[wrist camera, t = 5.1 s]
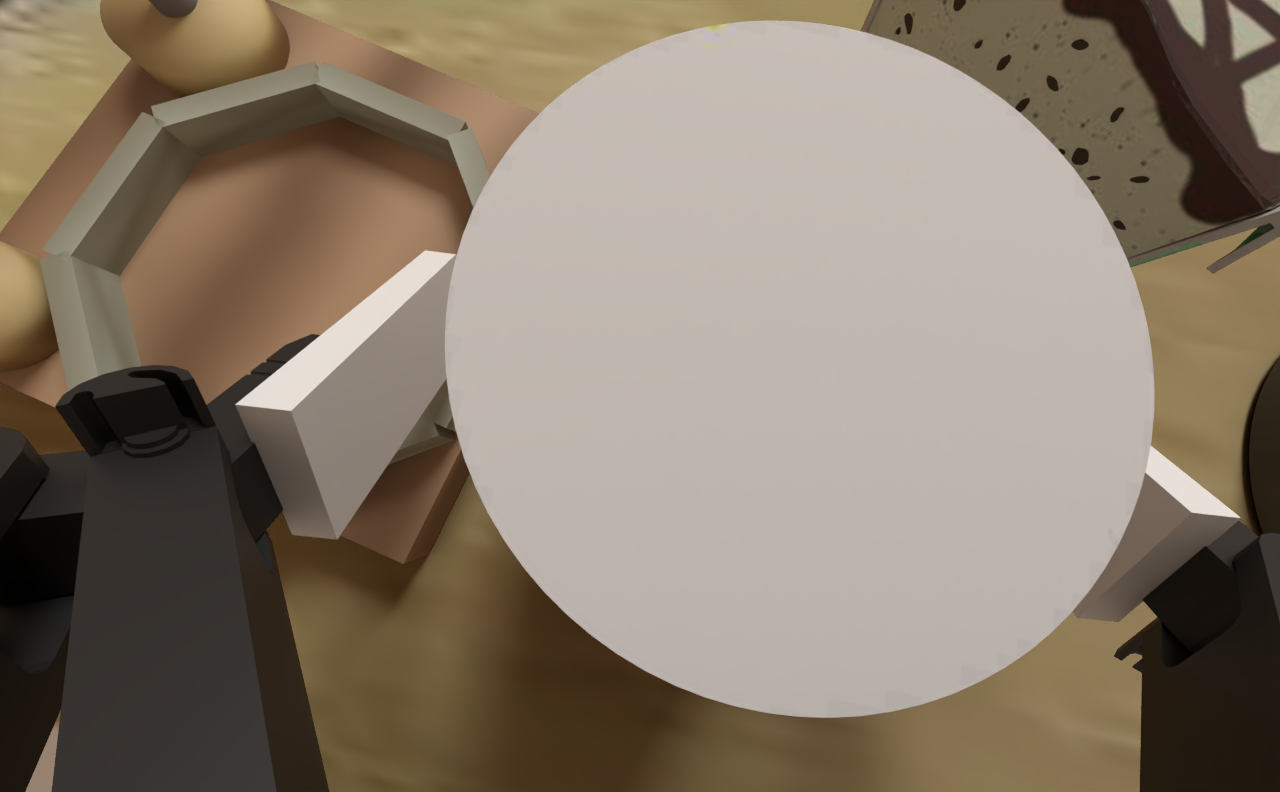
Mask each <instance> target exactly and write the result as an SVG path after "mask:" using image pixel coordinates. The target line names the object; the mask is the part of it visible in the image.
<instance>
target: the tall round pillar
mask: <svg viewBox="0 0 1280 792" xmlns="http://www.w3.org/2000/svg"><path fill="white" fill-rule="evenodd" d="M445 363H446V377H447V385H448V393H449V401H450V406H451V410H452V415H453V420H454V425H455V429H456V433H457V436H458V439H459V443H460V446H461V449H462V453H463V456H464V459H465V462H466V464H467V467H468V469H469V472H470V475H471V477H472V480H473V482H474V485H475V487H476V489H477V491H478V493H479V495H480V497H481V499H482V502H483V504H484V506H485V508H486V510H487V512H488V514H489V516H490V517H491V519H492V521H493V522H494V524H495V526H496V527H497V529H498V531H499V532H500V534H501V536H502V537H503V539H504V541H505V542H506V544H507V545H508V546H509V548H510V549H511V551H512V552H513V554H514V555H515V556H516V558H517V559H518V561H519V562H520V563H521V565H522V566H523V567H524V569H525V570H526V571H527V572H528V573H529V575H530V576H531V577H532V578H533V579H534V581H535V582H536V583H537V584H538V585H539V586H540V588H541V589H542V590H543V591H544V592H545V593H546V594H547V595H548V596H549V597H550V598H551V599H552V600H553V601H554V602H555V603H556V604H557V605H558V606H559V607H560V608H561V609H562V610H563V611H564V612H565V613H566V614H567V615H568V616H569V617H570V618H571V619H573V620H574V621H575V622H576V623H577V624H578V625H580V626H581V627H582V628H583V629H584V630H585V631H587V632H588V633H589V634H590V635H591V636H593V637H594V638H596V639H597V640H598V641H600V642H601V643H602V644H604V645H605V646H607V647H608V648H609V649H611V650H612V651H614V652H615V653H616V654H618V655H619V656H621V657H623V658H624V659H626V660H628V661H629V662H631V663H633V664H634V665H636V666H638V667H639V668H641V669H643V670H644V671H646V672H648V673H650V674H652V675H654V676H656V677H658V678H660V679H662V680H665V681H667V682H669V683H671V684H673V685H675V686H677V687H680V688H682V689H685V690H687V691H690V692H693V693H695V694H698V695H700V696H703V697H705V698H709V699H712V700H716V701H719V702H722V703H726V704H729V705H732V706H736V707H740V708H745V709H750V710H755V711H760V712H765V713H771V714H780V715H788V716H796V717H821V718H836V717H853V716H865V715H872V714H879V713H886V712H893V711H897V710H901V709H905V708H909V707H913V706H918V705H922V704H925V703H928V702H931V701H934V700H937V699H940V698H943V697H946V696H949V695H951V694H954V693H956V692H958V691H960V690H963V689H965V688H967V687H969V686H972V685H974V684H976V683H978V682H980V681H982V680H984V679H986V678H987V677H989V676H991V675H993V674H995V673H996V672H998V671H1000V670H1002V669H1004V668H1005V667H1007V666H1008V665H1010V664H1011V663H1013V662H1014V661H1015V660H1017V659H1018V658H1020V657H1021V656H1023V655H1024V654H1026V653H1027V652H1029V651H1030V650H1031V649H1032V648H1033V647H1035V646H1036V645H1037V644H1038V643H1039V642H1041V641H1042V640H1043V639H1044V638H1045V637H1047V636H1048V635H1049V634H1050V633H1051V632H1052V631H1053V630H1054V629H1055V628H1056V627H1057V626H1058V625H1059V624H1060V623H1061V622H1062V621H1063V620H1064V619H1065V618H1066V617H1067V616H1068V615H1069V614H1070V613H1071V612H1072V611H1073V610H1074V609H1075V608H1076V606H1077V605H1078V604H1079V603H1080V602H1081V600H1082V599H1083V598H1084V597H1085V596H1086V594H1087V593H1088V592H1089V591H1090V589H1091V588H1092V587H1093V585H1094V584H1095V582H1096V581H1097V579H1098V578H1099V576H1100V575H1101V574H1102V572H1103V571H1104V569H1105V568H1106V566H1107V564H1108V562H1109V561H1110V559H1111V557H1112V555H1113V554H1114V552H1115V550H1116V548H1117V547H1118V545H1119V543H1120V541H1121V539H1122V536H1123V534H1124V532H1125V530H1126V528H1127V526H1128V523H1129V521H1130V519H1131V516H1132V513H1133V511H1134V508H1135V505H1136V502H1137V499H1138V497H1139V494H1140V490H1141V487H1142V483H1143V479H1144V475H1145V471H1146V468H1147V463H1148V457H1149V451H1150V446H1151V440H1152V429H1153V419H1154V373H1153V359H1152V352H1151V344H1150V337H1149V331H1148V327H1147V322H1146V318H1145V313H1144V309H1143V305H1142V302H1141V298H1140V295H1139V292H1138V288H1137V285H1136V282H1135V279H1134V276H1133V274H1132V271H1131V268H1130V266H1129V263H1128V260H1127V258H1126V256H1125V253H1124V251H1123V249H1122V247H1121V245H1120V243H1119V240H1118V238H1117V236H1116V234H1115V232H1114V230H1113V228H1112V227H1111V225H1110V223H1109V221H1108V219H1107V217H1106V216H1105V214H1104V212H1103V210H1102V209H1101V207H1100V206H1099V204H1098V202H1097V201H1096V199H1095V198H1094V196H1093V195H1092V193H1091V191H1090V190H1089V188H1088V187H1087V186H1086V184H1085V183H1084V182H1083V180H1082V179H1081V178H1080V176H1079V175H1078V174H1077V172H1076V171H1075V169H1074V168H1073V167H1072V166H1071V165H1070V163H1069V162H1068V161H1067V160H1066V159H1065V158H1064V156H1063V155H1062V154H1061V153H1060V152H1059V150H1058V149H1057V148H1056V147H1055V146H1054V145H1053V144H1052V143H1051V142H1050V141H1049V140H1048V139H1047V138H1046V137H1045V136H1044V135H1043V134H1042V133H1041V132H1040V131H1039V130H1038V129H1037V128H1036V127H1035V126H1034V125H1033V124H1032V123H1031V122H1030V121H1028V120H1027V119H1026V118H1025V117H1024V116H1023V115H1022V114H1021V113H1020V112H1018V111H1017V110H1016V109H1015V108H1013V107H1012V106H1011V105H1010V104H1008V103H1007V102H1006V101H1005V100H1003V99H1002V98H1001V97H999V96H998V95H996V94H995V93H994V92H992V91H991V90H989V89H988V88H986V87H985V86H984V85H982V84H981V83H979V82H978V81H976V80H974V79H973V78H971V77H969V76H968V75H966V74H964V73H963V72H961V71H959V70H958V69H956V68H954V67H952V66H950V65H948V64H946V63H944V62H942V61H940V60H938V59H937V58H934V57H932V56H930V55H928V54H925V53H923V52H921V51H919V50H916V49H914V48H911V47H909V46H906V45H903V44H901V43H898V42H895V41H892V40H890V39H886V38H883V37H879V36H876V35H873V34H869V33H866V32H861V31H857V30H852V29H848V28H844V27H838V26H832V25H825V24H819V23H808V22H797V21H750V22H738V23H729V24H721V25H715V26H710V27H705V28H699V29H695V30H691V31H687V32H683V33H679V34H676V35H672V36H669V37H666V38H663V39H660V40H657V41H654V42H652V43H649V44H646V45H644V46H642V47H639V48H637V49H635V50H632V51H630V52H628V53H626V54H624V55H622V56H620V57H618V58H616V59H614V60H612V61H610V62H608V63H606V64H605V65H603V66H601V67H600V68H598V69H597V70H595V71H593V72H592V73H590V74H588V75H587V76H585V77H584V78H582V79H581V80H580V81H578V82H577V83H576V84H574V85H573V86H571V87H570V88H569V89H567V90H566V91H565V92H563V93H562V94H561V95H560V96H559V97H558V98H556V99H555V100H554V101H553V102H552V103H551V104H549V105H548V106H547V107H546V108H545V109H544V110H543V111H542V112H541V113H540V114H539V115H538V116H537V117H536V118H535V119H534V120H533V121H532V122H531V123H530V124H529V125H528V126H527V127H526V129H525V130H524V131H523V132H522V133H521V134H520V136H519V137H518V138H517V139H516V140H515V142H514V143H513V144H512V145H511V147H510V148H509V149H508V151H507V152H506V154H505V155H504V156H503V158H502V159H501V161H500V162H499V163H498V165H497V166H496V168H495V170H494V171H493V173H492V175H491V176H490V178H489V180H488V181H487V183H486V185H485V186H484V188H483V190H482V192H481V194H480V196H479V198H478V200H477V202H476V204H475V206H474V208H473V210H472V213H471V215H470V218H469V220H468V223H467V226H466V228H465V231H464V233H463V236H462V239H461V243H460V246H459V249H458V253H457V256H456V259H455V263H454V268H453V273H452V277H451V282H450V287H449V294H448V302H447V310H446V323H445Z"/></svg>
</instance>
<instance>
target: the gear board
mask: <svg viewBox="0 0 1280 792" xmlns="http://www.w3.org/2000/svg"><path fill="white" fill-rule="evenodd" d="M100 14H101V20H102V23H103V26H104V29H105V31H106V32H107V34H108V36H109V37H110V38H111V40H112V41H113V42H114V43H115V44H116V45H117V46H118V47H119V48H121V49H122V50H123V51H124V52H125V53H126V54H127V55H128V56H130V57H131V58H132V59H131V60H130V61H129V63H128V64H127V65H126V67H125V68H124V69H123V71H122V72H121V73H120V75H119V76H118V77H117V79H116V80H115V81H114V83H113V84H112V85H111V87H110V88H109V89H108V91H107V92H106V93H105V95H104V96H103V97H102V99H101V100H100V101H99V103H98V104H97V105H96V107H95V108H94V109H93V111H92V112H91V113H90V115H89V116H88V117H87V119H86V120H85V121H84V122H83V124H82V125H81V126H80V128H79V129H78V130H77V132H76V133H75V134H74V136H73V137H72V138H71V140H70V141H69V142H68V144H67V145H66V146H65V148H64V149H63V150H62V152H61V153H60V154H59V156H58V157H57V158H56V160H55V161H54V162H53V164H52V165H51V166H50V168H49V169H48V170H47V172H46V173H45V174H44V176H43V177H42V178H41V180H40V181H39V182H38V184H37V185H36V186H35V188H34V189H33V190H32V192H31V193H30V194H29V196H28V197H27V198H26V200H25V201H24V202H23V204H22V205H21V206H20V208H19V209H18V210H17V211H16V213H15V214H14V215H13V217H12V218H11V219H10V221H9V222H8V223H7V225H6V226H5V227H4V229H3V230H2V231H1V233H0V383H2V384H4V385H6V386H8V387H11V388H13V389H15V390H17V391H20V392H22V393H24V394H26V395H28V396H31V397H33V398H35V399H37V400H40V401H42V402H44V403H46V404H48V405H51V406H53V407H55V406H56V404H57V403H58V401H59V400H60V398H61V397H62V395H63V394H65V393H66V392H68V391H70V390H71V389H73V388H74V387H76V386H77V385H79V384H80V383H83V382H85V381H88V380H90V379H93V378H95V377H98V376H100V375H103V374H106V373H110V372H114V371H118V370H122V369H126V368H131V367H139V366H148V365H165V366H176V367H179V368H182V369H185V370H188V371H189V373H190V374H191V375H192V377H193V378H194V380H195V382H196V384H197V386H198V388H199V390H200V392H201V395H202V397H203V399H204V401H205V403H206V405H207V404H208V403H210V402H211V401H212V400H213V399H215V398H216V397H217V396H219V395H220V394H221V393H223V392H224V391H225V390H227V389H228V388H229V387H231V386H232V385H233V384H234V383H236V382H237V381H238V380H240V379H241V378H242V377H244V376H245V375H246V374H248V375H250V374H251V371H252V370H253V369H254V368H256V367H257V366H258V365H259V364H261V363H262V362H266V359H267V358H269V357H270V356H271V355H273V354H274V353H275V352H277V351H278V350H279V349H280V348H282V347H283V346H284V345H286V344H289V343H291V342H293V341H296V340H298V339H301V338H303V337H305V336H308V335H310V334H317V335H322V334H323V333H324V332H325V331H327V330H328V329H329V328H330V327H331V326H333V325H334V324H335V323H336V322H338V321H339V320H340V319H341V318H343V317H344V316H345V315H346V314H347V313H349V312H350V311H351V310H352V309H354V308H355V307H356V306H357V305H359V304H360V303H361V302H362V301H363V300H365V299H366V298H367V297H368V296H370V295H371V294H372V293H373V292H375V291H376V290H377V289H378V288H380V287H381V286H382V285H383V284H384V283H386V282H387V281H388V280H389V279H391V278H392V277H393V276H394V275H396V274H397V273H398V272H399V271H400V270H402V269H403V268H404V267H405V266H407V265H408V264H409V263H410V262H412V261H413V260H414V259H415V258H416V257H418V256H419V255H420V254H421V253H423V252H424V251H434V252H442V253H450V254H456V256H457V253H458V249H459V246H460V243H461V239H462V236H463V233H464V231H465V228H466V226H467V223H468V220H469V218H470V215H471V213H472V210H473V208H474V206H475V204H476V202H477V200H478V198H479V196H480V194H481V192H482V190H483V188H484V186H485V185H486V183H487V181H488V180H489V178H490V176H491V175H492V173H493V171H494V170H495V168H496V166H497V165H498V163H499V162H500V161H501V159H502V158H503V156H504V155H505V154H506V152H507V151H508V149H509V148H510V147H511V145H512V144H513V143H514V142H515V140H516V139H517V138H518V137H519V136H520V134H521V133H522V132H523V131H524V130H525V129H526V127H527V126H528V125H529V124H530V123H531V122H532V121H533V120H534V119H535V118H536V117H537V116H538V115H539V114H538V113H536V112H534V111H531V110H529V109H527V108H524V107H522V106H520V105H517V104H515V103H512V102H510V101H508V100H505V99H503V98H501V97H498V96H496V95H493V94H491V93H489V92H486V91H484V90H482V89H479V88H477V87H474V86H472V85H470V84H467V83H465V82H463V81H460V80H458V79H455V78H453V77H451V76H448V75H446V74H444V73H441V72H439V71H437V70H434V69H432V68H429V67H427V66H425V65H422V64H420V63H418V62H415V61H413V60H410V59H408V58H406V57H403V56H401V55H399V54H396V53H394V52H391V51H389V50H387V49H384V48H382V47H380V46H377V45H375V44H373V43H370V42H368V41H365V40H363V39H361V38H358V37H356V36H354V35H351V34H349V33H346V32H344V31H342V30H339V29H337V28H335V27H332V26H330V25H327V24H325V23H323V22H320V21H318V20H316V19H313V18H311V17H308V16H306V15H304V14H301V13H299V12H297V11H294V10H292V9H290V8H287V7H285V6H282V5H280V4H278V3H275V2H273V1H271V0H101V3H100ZM55 408H56V407H55ZM468 474H469V469H468V467H467V464H466V462H465V459H464V456H463V453H462V449H461V446H460V443H459V439H458V436H457V433H456V429H455V425H454V420H453V415H452V410H451V406H450V401H449V393H448V385H447V378H446V380H445V381H444V383H443V384H442V386H441V387H440V389H439V390H438V392H437V393H436V394H435V396H434V397H433V399H432V400H431V402H430V403H429V405H428V406H427V408H426V409H425V411H424V412H423V414H422V415H421V417H420V418H419V420H418V421H417V423H416V424H415V426H414V427H413V428H412V430H411V431H410V433H409V434H408V436H407V437H406V439H405V440H404V442H403V443H402V445H401V446H400V448H399V449H398V451H397V452H396V454H395V455H394V457H393V458H392V459H391V461H390V462H389V464H388V465H387V467H386V468H385V470H384V471H383V473H382V474H381V476H380V477H379V479H378V480H377V482H376V483H375V485H374V486H373V488H372V489H371V491H370V492H369V493H368V495H367V496H366V498H365V499H364V501H363V502H362V504H361V505H360V507H359V508H358V510H357V511H356V513H355V514H354V516H353V517H352V519H351V520H350V522H349V523H348V525H347V526H346V527H345V529H344V530H343V532H342V533H341V535H340V536H342V537H344V538H346V539H349V540H351V541H353V542H355V543H357V544H360V545H362V546H364V547H366V548H369V549H371V550H373V551H375V552H377V553H380V554H382V555H384V556H386V557H389V558H391V559H393V560H395V561H397V562H400V563H402V564H405V563H408V562H410V561H413V560H416V559H418V558H421V557H424V556H426V555H429V553H430V551H431V549H432V547H433V545H434V543H435V541H436V539H437V537H438V535H439V533H440V531H441V529H442V527H443V525H444V523H445V521H446V519H447V517H448V515H449V513H450V511H451V509H452V507H453V505H454V503H455V501H456V499H457V497H458V495H459V492H460V490H461V488H462V486H463V484H464V482H465V480H466V478H467V476H468Z"/></svg>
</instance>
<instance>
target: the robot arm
mask: <svg viewBox="0 0 1280 792" xmlns="http://www.w3.org/2000/svg"><path fill="white" fill-rule="evenodd" d="M455 259H456V254H450V253H442V252H434V251H424V252H423V253H421V254H420V255H419V256H418V257H416V258H415V259H414V260H413V261H412V262H410V263H409V264H408V265H407V266H405V267H404V268H403V269H402V270H400V271H399V272H398V273H397V274H396V275H394V276H393V277H392V278H391V279H389V280H388V281H387V282H386V283H384V284H383V285H382V286H381V287H380V288H378V289H377V290H376V291H375V292H373V293H372V294H371V295H370V296H368V297H367V298H366V299H365V300H363V301H362V302H361V303H360V304H359V305H357V306H356V307H355V308H354V309H352V310H351V311H350V312H349V313H347V314H346V315H345V316H344V317H343V318H341V319H340V320H339V321H338V322H336V323H335V324H334V325H333V326H331V327H330V328H329V329H328V330H327V331H325V332H324V333H323V334H322V335H317V334H310V335H308V336H305V337H303V338H301V339H298V340H296V341H293V342H291V343H289V344H286V345H284V346H283V347H282V348H280V349H279V350H278V351H277V352H275V353H274V354H273V355H271V356H270V357H269V358H267V359H266V362H262V363H261V364H259V365H258V366H257V367H256V368H254V369H253V370H252V371H251V374H250V375H248V374H246V375H245V376H244V377H242V378H241V379H240V380H238V381H237V382H236V383H234V384H233V385H232V386H231V387H229V388H228V389H227V390H225V391H224V392H223V393H221V394H220V395H219V396H217V397H216V398H215V399H213V400H212V401H211V402H210V403H208V404H207V405H206V403H205V401H204V399H203V397H202V395H201V392H200V390H199V388H198V386H197V384H196V382H195V380H194V378H193V377H192V375H191V374H190V373H189V371H188V370H185V369H182V368H179V367H176V366H165V365H148V366H139V367H131V368H126V369H122V370H118V371H114V372H110V373H106V374H103V375H100V376H98V377H95V378H93V379H90V380H88V381H85V382H83V383H80V384H79V385H77V386H76V387H74V388H73V389H71V390H70V391H68V392H66V393H65V394H63V395H62V397H61V398H60V400H59V401H58V403H57V404H56V406H55V407H56V408H57V410H58V411H59V413H60V414H61V416H62V417H63V419H64V420H65V421H66V423H67V424H68V426H69V427H70V429H71V430H72V432H73V433H74V434H75V436H76V437H77V439H78V440H79V442H80V443H81V445H82V446H83V447H84V449H85V450H86V451H78V452H68V453H57V454H46V455H39V454H38V453H37V452H36V450H35V449H34V448H33V446H32V445H31V444H30V442H29V441H28V440H27V439H26V437H25V436H24V435H23V434H22V433H21V432H20V431H17V430H13V429H8V428H3V427H1V428H0V792H25V791H26V788H27V786H28V784H29V782H30V779H31V777H32V774H33V772H34V770H35V768H36V765H37V763H38V761H39V758H40V756H41V754H42V751H43V749H44V747H45V745H46V742H47V740H48V738H49V735H50V733H51V731H52V728H53V726H54V724H55V722H56V719H57V717H58V715H59V712H60V710H61V715H60V724H59V733H58V742H57V750H56V759H55V767H54V776H53V786H52V792H329V788H328V784H327V780H326V775H325V771H324V766H323V762H322V758H321V753H320V749H319V745H318V740H317V736H316V732H315V727H314V723H313V719H312V714H311V710H310V706H309V701H308V697H307V692H306V688H305V684H304V679H303V675H302V671H301V666H300V662H299V658H298V653H297V649H296V645H295V640H294V636H293V632H292V627H291V623H290V618H289V614H288V610H287V605H286V601H285V597H284V592H283V588H282V584H281V579H280V575H279V571H278V566H277V562H276V558H275V553H274V549H273V544H272V541H271V539H270V537H269V535H268V533H267V531H266V529H267V528H268V527H269V526H270V525H271V523H272V522H273V521H274V520H275V519H276V517H277V516H278V515H279V514H280V513H281V511H282V513H283V516H284V518H285V520H286V522H287V525H288V527H289V529H290V532H291V534H292V535H298V536H308V537H317V538H327V539H336V540H337V539H338V538H339V536H340V535H341V533H342V532H343V530H344V529H345V527H346V526H347V525H348V523H349V522H350V520H351V519H352V517H353V516H354V514H355V513H356V511H357V510H358V508H359V507H360V505H361V504H362V502H363V501H364V499H365V498H366V496H367V495H368V493H369V492H370V491H371V489H372V488H373V486H374V485H375V483H376V482H377V480H378V479H379V477H380V476H381V474H382V473H383V471H384V470H385V468H386V467H387V465H388V464H389V462H390V461H391V459H392V458H393V457H394V455H395V454H396V452H397V451H398V449H399V448H400V446H401V445H402V443H403V442H404V440H405V439H406V437H407V436H408V434H409V433H410V431H411V430H412V428H413V427H414V426H415V424H416V423H417V421H418V420H419V418H420V417H421V415H422V414H423V412H424V411H425V409H426V408H427V406H428V405H429V403H430V402H431V400H432V399H433V397H434V396H435V394H436V393H437V392H438V390H439V389H440V387H441V386H442V384H443V383H444V381H445V380H446V378H447V377H446V363H445V323H446V310H447V302H448V294H449V287H450V282H451V277H452V273H453V268H454V263H455ZM1249 464H1250V477H1251V485H1252V492H1253V498H1254V503H1255V507H1256V512H1257V515H1258V519H1259V522H1260V526H1261V529H1262V532H1263V534H1262V535H1260V536H1257V535H1256V534H1255V533H1254V532H1252V531H1251V530H1250V529H1249V528H1247V527H1246V526H1245V525H1244V524H1242V523H1241V522H1240V521H1239V520H1240V519H1241V518H1240V517H1239V516H1238V515H1237V514H1235V513H1234V512H1233V511H1232V510H1230V509H1229V508H1228V507H1227V506H1225V505H1224V504H1223V503H1222V502H1220V501H1219V500H1218V499H1217V498H1215V497H1214V496H1213V495H1212V494H1210V493H1209V492H1208V491H1207V490H1205V489H1204V488H1203V487H1202V486H1200V485H1199V484H1198V483H1197V482H1195V481H1194V480H1193V479H1192V478H1190V477H1189V476H1188V475H1187V474H1185V473H1184V472H1183V471H1182V470H1180V469H1179V468H1178V467H1177V466H1175V465H1174V464H1173V463H1172V462H1170V461H1169V460H1168V459H1167V458H1165V457H1164V456H1163V455H1162V454H1160V453H1159V452H1158V451H1157V450H1155V449H1154V448H1153V447H1152V446H1150V451H1149V457H1148V463H1147V468H1146V471H1145V475H1144V479H1143V483H1142V487H1141V490H1140V494H1139V497H1138V499H1137V502H1136V505H1135V508H1134V511H1133V513H1132V516H1131V519H1130V521H1129V523H1128V526H1127V528H1126V530H1125V532H1124V534H1123V536H1122V539H1121V541H1120V543H1119V545H1118V547H1117V548H1116V550H1115V552H1114V554H1113V555H1112V557H1111V559H1110V561H1109V562H1108V564H1107V566H1106V568H1105V569H1104V571H1103V572H1102V574H1101V575H1100V576H1099V578H1098V579H1097V581H1096V582H1095V584H1094V585H1093V587H1092V588H1091V589H1090V591H1089V592H1088V593H1087V594H1086V596H1085V597H1084V598H1083V599H1082V600H1081V602H1080V603H1079V604H1078V605H1077V606H1076V608H1075V609H1074V610H1073V612H1074V614H1075V615H1076V616H1077V618H1087V619H1096V620H1106V621H1115V622H1119V621H1120V620H1121V619H1122V618H1124V617H1125V616H1126V615H1127V614H1128V613H1129V612H1131V611H1132V610H1133V609H1134V608H1135V607H1137V606H1138V605H1139V604H1140V603H1141V602H1143V601H1144V602H1145V603H1146V604H1147V605H1148V607H1149V608H1150V609H1151V610H1152V611H1153V612H1154V613H1155V614H1156V616H1157V618H1156V619H1155V620H1153V621H1152V622H1151V623H1150V624H1148V625H1147V626H1146V627H1145V628H1143V629H1142V630H1141V631H1140V632H1138V633H1137V634H1136V635H1135V636H1133V637H1132V638H1131V639H1130V640H1128V641H1127V642H1126V643H1125V644H1123V645H1122V646H1121V647H1120V648H1118V649H1117V651H1116V653H1115V655H1114V657H1116V658H1118V659H1120V660H1121V661H1122V660H1123V659H1124V658H1125V657H1127V656H1128V655H1129V654H1133V653H1137V654H1140V655H1142V659H1141V660H1140V661H1139V662H1137V663H1136V664H1135V665H1133V668H1135V669H1136V670H1138V671H1140V672H1141V673H1142V705H1141V758H1140V792H1280V358H1279V360H1278V361H1277V363H1276V364H1275V366H1274V367H1273V369H1272V370H1271V372H1270V374H1269V376H1268V377H1267V379H1266V381H1265V383H1264V386H1263V388H1262V390H1261V393H1260V395H1259V398H1258V401H1257V405H1256V408H1255V412H1254V416H1253V421H1252V427H1251V434H1250V448H1249Z"/></svg>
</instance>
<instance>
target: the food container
mask: <svg viewBox="0 0 1280 792" xmlns="http://www.w3.org/2000/svg"><path fill="white" fill-rule="evenodd" d="M861 32H866V33H869V34H873V35H876V36H879V37H883V38H886V39H890V40H892V41H895V42H898V43H901V44H903V45H906V46H909V47H911V48H914V49H916V50H919V51H921V52H923V53H925V54H928V55H930V56H932V57H934V58H937V59H938V60H940V61H942V62H944V63H946V64H948V65H950V66H952V67H954V68H956V69H958V70H959V71H961V72H963V73H964V74H966V75H968V76H969V77H971V78H973V79H974V80H976V81H978V82H979V83H981V84H982V85H984V86H985V87H986V88H988V89H989V90H991V91H992V92H994V93H995V94H996V95H998V96H999V97H1001V98H1002V99H1003V100H1005V101H1006V102H1007V103H1008V104H1010V105H1011V106H1012V107H1013V108H1015V109H1016V110H1017V111H1018V112H1020V113H1021V114H1022V115H1023V116H1024V117H1025V118H1026V119H1027V120H1028V121H1030V122H1031V123H1032V124H1033V125H1034V126H1035V127H1036V128H1037V129H1038V130H1039V131H1040V132H1041V133H1042V134H1043V135H1044V136H1045V137H1046V138H1047V139H1048V140H1049V141H1050V142H1051V143H1052V144H1053V145H1054V146H1055V147H1056V148H1057V149H1058V150H1059V152H1060V153H1061V154H1062V155H1063V156H1064V158H1065V159H1066V160H1067V161H1068V162H1069V163H1070V165H1071V166H1072V167H1073V168H1074V169H1075V171H1076V172H1077V174H1078V175H1079V176H1080V178H1081V179H1082V180H1083V182H1084V183H1085V184H1086V186H1087V187H1088V188H1089V190H1090V191H1091V193H1092V195H1093V196H1094V198H1095V199H1096V201H1097V202H1098V204H1099V206H1100V207H1101V209H1102V210H1103V212H1104V214H1105V216H1106V217H1107V219H1108V221H1109V223H1110V225H1111V227H1112V228H1113V230H1114V232H1115V234H1116V236H1117V238H1118V240H1119V243H1120V245H1121V247H1122V249H1123V251H1124V253H1125V256H1126V258H1127V260H1128V263H1129V266H1130V267H1133V266H1136V265H1139V264H1142V263H1146V262H1149V261H1152V260H1155V259H1158V258H1161V257H1165V256H1168V255H1171V254H1174V253H1177V252H1180V251H1184V250H1187V249H1190V248H1193V247H1196V246H1199V245H1202V244H1206V243H1209V242H1212V241H1215V240H1218V239H1221V238H1225V237H1228V236H1231V235H1234V234H1237V233H1240V232H1243V231H1247V230H1250V229H1253V228H1256V227H1258V228H1257V229H1256V230H1255V231H1254V232H1253V233H1252V234H1251V235H1250V236H1249V237H1248V238H1247V239H1246V240H1244V241H1243V242H1242V243H1241V244H1240V245H1239V246H1238V247H1237V248H1236V249H1235V250H1234V251H1232V252H1230V253H1229V254H1227V255H1226V256H1224V257H1223V258H1221V259H1220V260H1218V261H1216V262H1215V263H1213V264H1212V265H1210V266H1209V267H1207V269H1208V270H1209V271H1211V272H1212V273H1215V272H1217V271H1218V270H1220V269H1222V268H1224V267H1226V266H1227V265H1229V264H1231V263H1233V262H1235V261H1236V260H1238V259H1240V258H1242V257H1244V256H1245V255H1247V254H1249V253H1251V252H1253V251H1254V250H1256V249H1258V248H1260V247H1262V246H1263V245H1265V244H1267V243H1269V242H1270V241H1272V240H1274V239H1276V238H1278V237H1279V236H1280V0H874V2H873V4H872V7H871V9H870V11H869V13H868V16H867V18H866V20H865V22H864V25H863V27H862V29H861Z"/></svg>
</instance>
